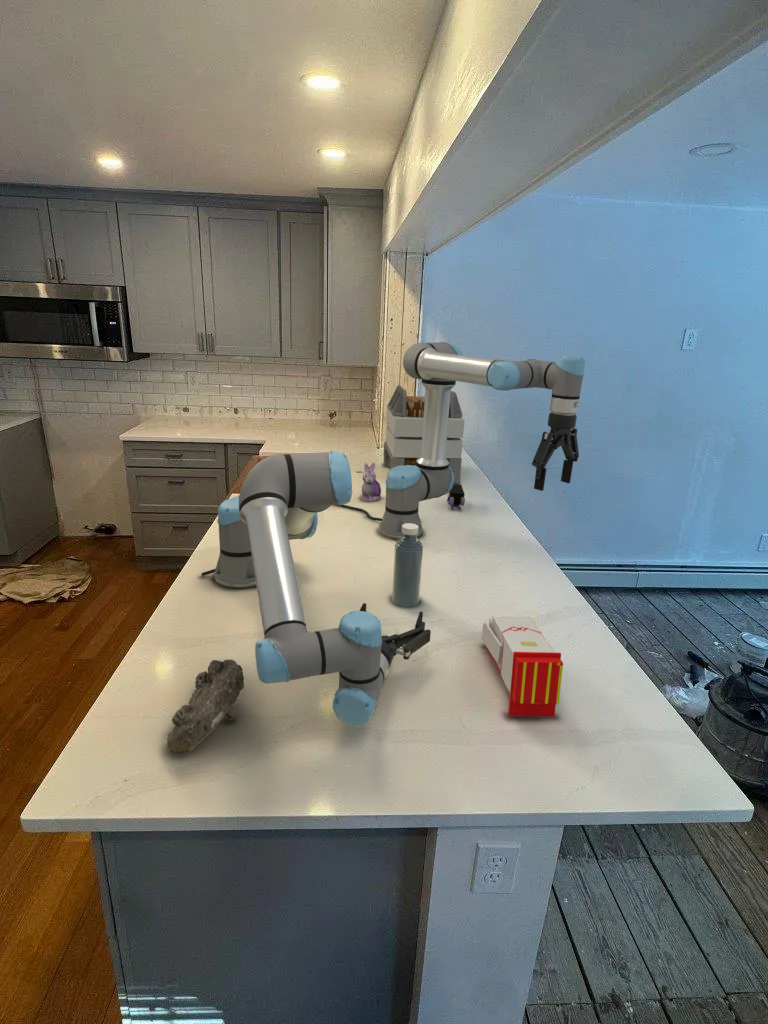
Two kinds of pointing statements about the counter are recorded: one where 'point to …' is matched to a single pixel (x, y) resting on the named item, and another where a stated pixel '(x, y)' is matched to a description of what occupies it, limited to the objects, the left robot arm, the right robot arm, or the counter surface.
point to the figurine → (370, 484)
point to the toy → (525, 665)
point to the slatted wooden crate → (419, 431)
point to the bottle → (407, 571)
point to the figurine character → (456, 496)
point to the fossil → (206, 705)
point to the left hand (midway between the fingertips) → (392, 612)
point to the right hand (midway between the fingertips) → (552, 485)
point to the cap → (410, 529)
